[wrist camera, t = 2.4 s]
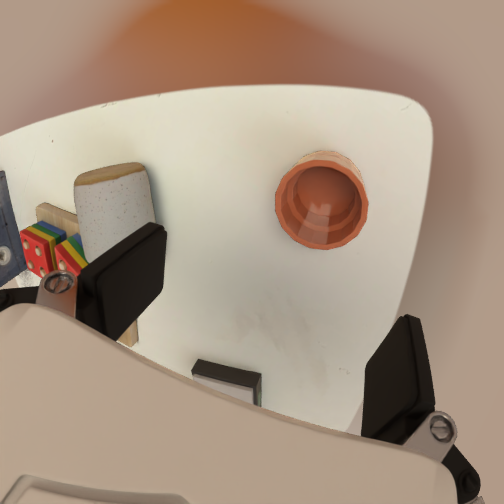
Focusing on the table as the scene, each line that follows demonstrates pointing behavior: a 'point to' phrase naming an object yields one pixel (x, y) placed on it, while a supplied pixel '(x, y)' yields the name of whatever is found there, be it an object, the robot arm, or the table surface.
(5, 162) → the table surface
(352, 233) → the terracotta pot
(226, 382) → the scale
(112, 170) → the ceramic mug
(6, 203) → the vhs cassette tape
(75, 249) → the shape sorter
